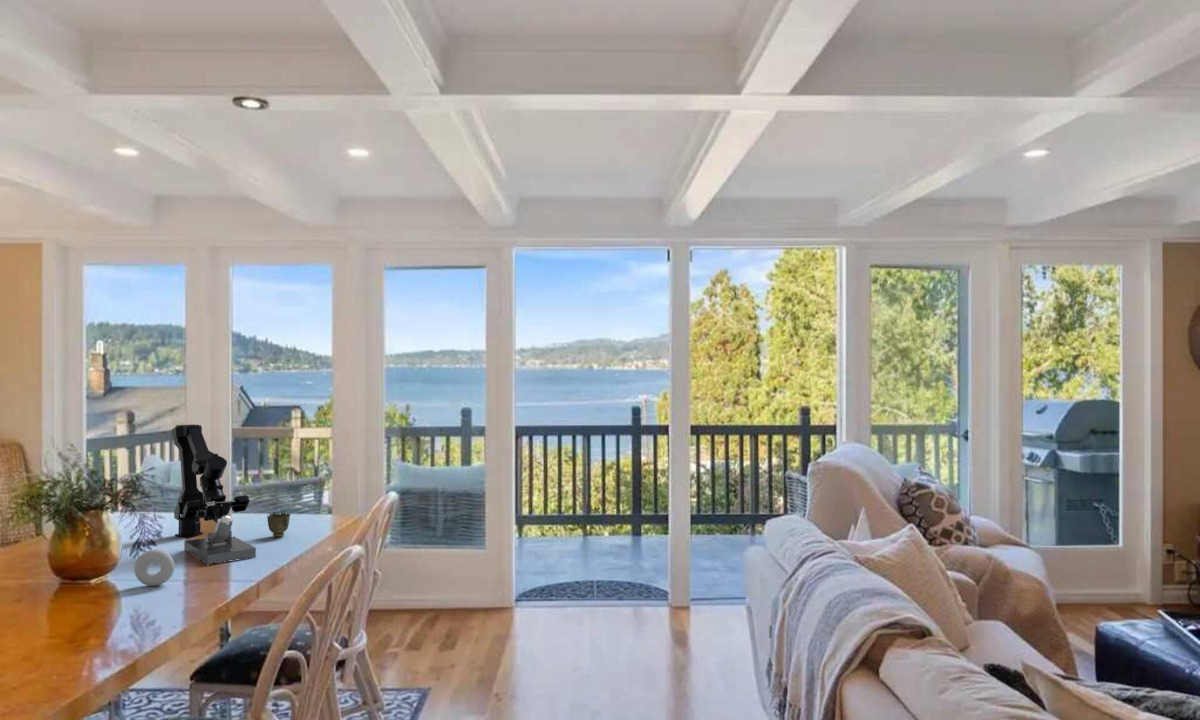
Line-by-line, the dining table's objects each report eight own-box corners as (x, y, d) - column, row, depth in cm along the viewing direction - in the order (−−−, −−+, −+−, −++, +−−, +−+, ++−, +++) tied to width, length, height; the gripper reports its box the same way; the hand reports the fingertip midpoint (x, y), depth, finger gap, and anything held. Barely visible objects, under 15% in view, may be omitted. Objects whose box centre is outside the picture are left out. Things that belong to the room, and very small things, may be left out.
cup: (284, 539, 259) (284, 516, 259) (263, 539, 260) (263, 516, 260) (293, 534, 267) (293, 512, 267) (272, 534, 267) (273, 511, 267)
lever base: (184, 550, 244) (184, 528, 244) (230, 543, 253) (230, 522, 253) (207, 565, 226) (207, 542, 226) (255, 557, 236) (255, 535, 236)
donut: (176, 583, 208) (176, 547, 208) (171, 586, 205) (172, 550, 205) (137, 584, 206) (137, 548, 206) (131, 588, 203) (132, 551, 203)
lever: (211, 539, 240) (218, 514, 235) (224, 537, 242) (231, 512, 237) (213, 546, 238) (220, 521, 233) (226, 544, 241) (234, 519, 236)
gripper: (235, 500, 257) (246, 537, 249) (175, 506, 244) (184, 547, 236) (244, 479, 251) (255, 518, 243) (182, 485, 238) (192, 526, 230)
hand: (222, 527), depth 238 cm, fingers closed, pressing on lever
